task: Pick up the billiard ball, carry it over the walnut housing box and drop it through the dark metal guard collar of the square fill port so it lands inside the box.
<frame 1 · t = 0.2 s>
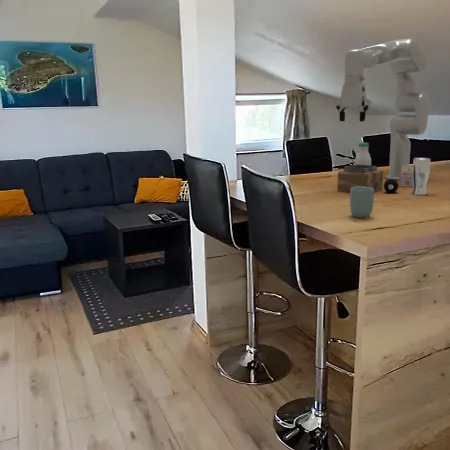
hand: (352, 121, 210), 31 cm above the table, tool pointing down, fingers open, 9 cm apart
milk bottle: (362, 185, 230), on the table
billiard ball: (390, 193, 210), on the table
cup: (360, 217, 169), on the table
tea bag: (406, 187, 223), on the table
housing: (359, 190, 217), on the table
beer glass: (419, 194, 205), on the table
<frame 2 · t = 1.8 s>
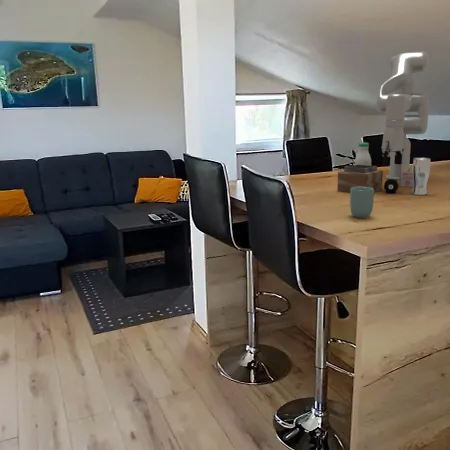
hand: (392, 165, 206), 12 cm above the table, tool pointing down, fingers open, 9 cm apart
nothing on the table moved.
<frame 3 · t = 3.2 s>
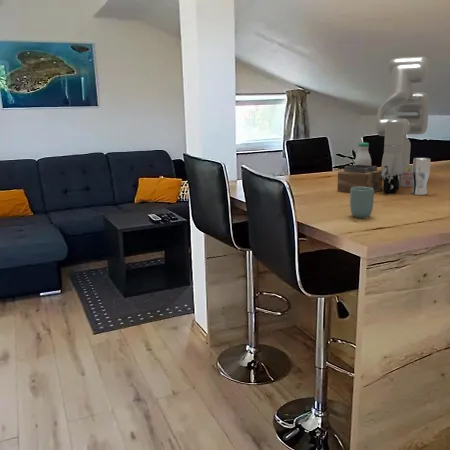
hand: (390, 190, 210), 1 cm above the table, tool pointing down, fingers closed on billiard ball, 6 cm apart
billiard ball: (390, 193, 210), on the table, touching gripper
everything else where it was.
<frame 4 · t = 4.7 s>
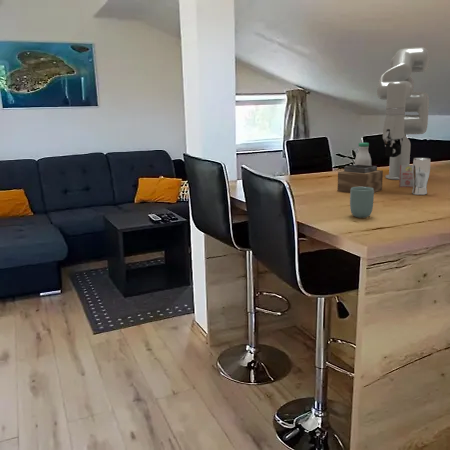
hand: (393, 154, 206), 16 cm above the table, tool pointing down, fingers closed on billiard ball, 6 cm apart
billiard ball: (392, 157, 207), point 15 cm above the table, touching gripper
everything else where it was.
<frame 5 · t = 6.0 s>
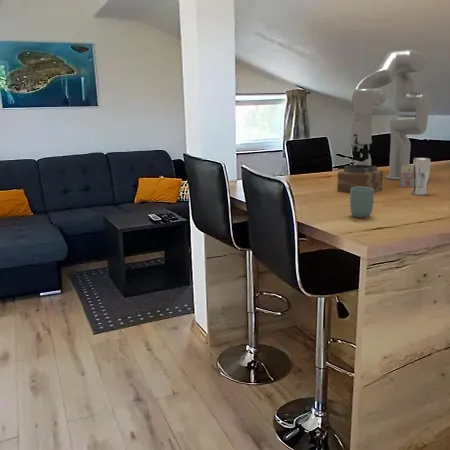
hand: (360, 159, 213), 14 cm above the table, tool pointing down, fingers closed on billiard ball, 6 cm apart
billiard ball: (360, 162, 213), point 13 cm above the table, touching gripper
everything else where it was.
when the fingers open (13 cm above the table, at t = 6.5 s): billiard ball drops 10 cm, resting on housing.
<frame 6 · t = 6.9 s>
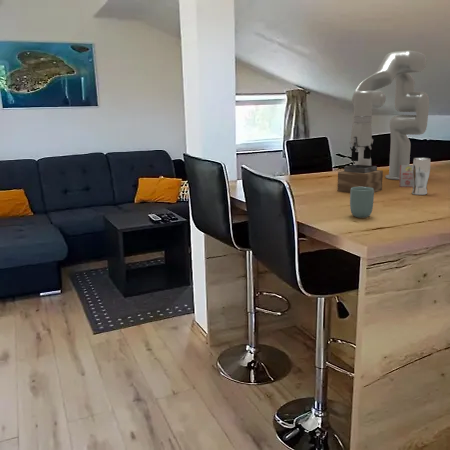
hand: (360, 159, 213), 14 cm above the table, tool pointing down, fingers open, 9 cm apart
billiard ball: (360, 185, 216), point 2 cm above the table, touching housing
everything else where it was.
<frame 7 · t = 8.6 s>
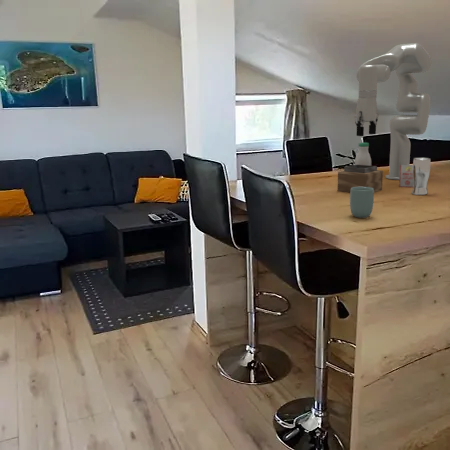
hand: (366, 135, 213), 24 cm above the table, tool pointing down, fingers open, 9 cm apart
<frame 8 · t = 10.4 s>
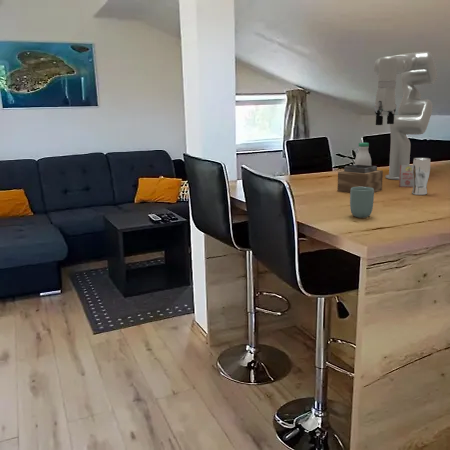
hand: (384, 124, 220), 28 cm above the table, tool pointing down, fingers open, 9 cm apart
at the end: billiard ball inside the target area on the housing (0.1 cm from its centre), point 0.8 cm above the housing's base; the gripper is holding nothing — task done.
